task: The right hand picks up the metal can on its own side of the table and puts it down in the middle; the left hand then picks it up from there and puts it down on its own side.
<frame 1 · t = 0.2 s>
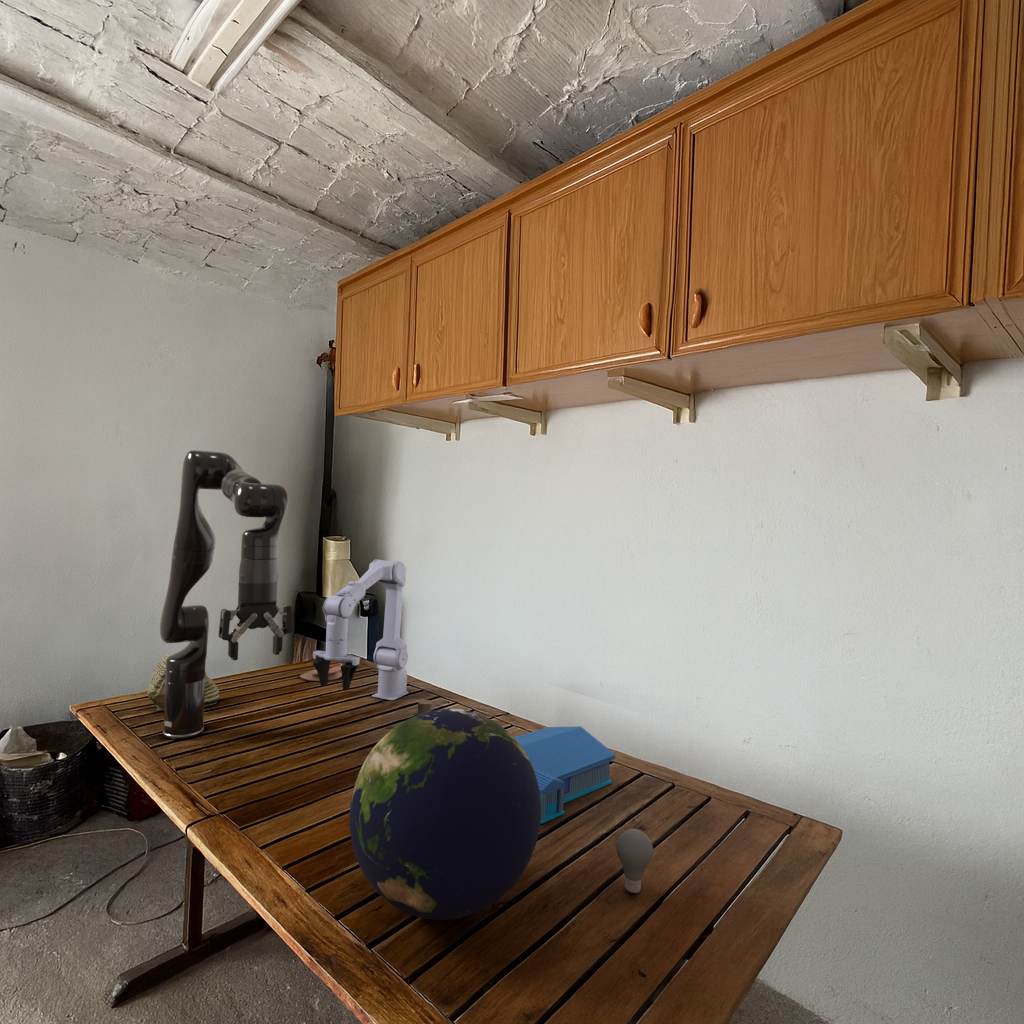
left hand: (255, 656, 132), 29 cm above the table, tool pointing down, fingers open, 8 cm apart
right hand: (334, 687, 177), 10 cm above the table, tool pointing down, fingers open, 7 cm apart
fossil: (183, 706, 185), on the table
model building: (524, 792, 140), on the table
can: (424, 715, 187), on the table
light bulb: (632, 891, 106), on the table
anatomical model: (321, 677, 220), on the table
globe: (442, 902, 101), on the table
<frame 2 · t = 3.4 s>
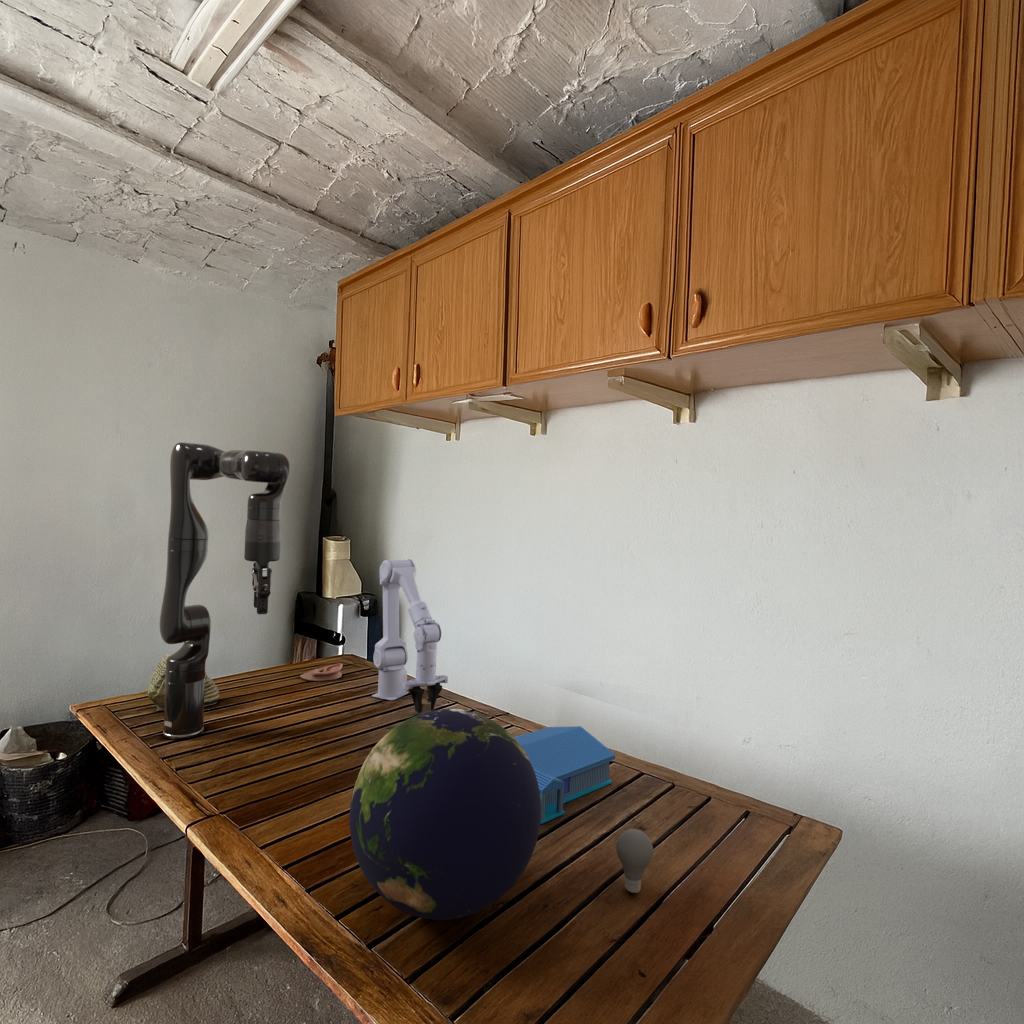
left hand: (260, 610, 144), 37 cm above the table, tool pointing down, fingers open, 8 cm apart
right hand: (424, 710, 187), 1 cm above the table, tool pointing down, fingers closed on can, 4 cm apart
can: (424, 715, 187), on the table, touching right hand
everything else where it was.
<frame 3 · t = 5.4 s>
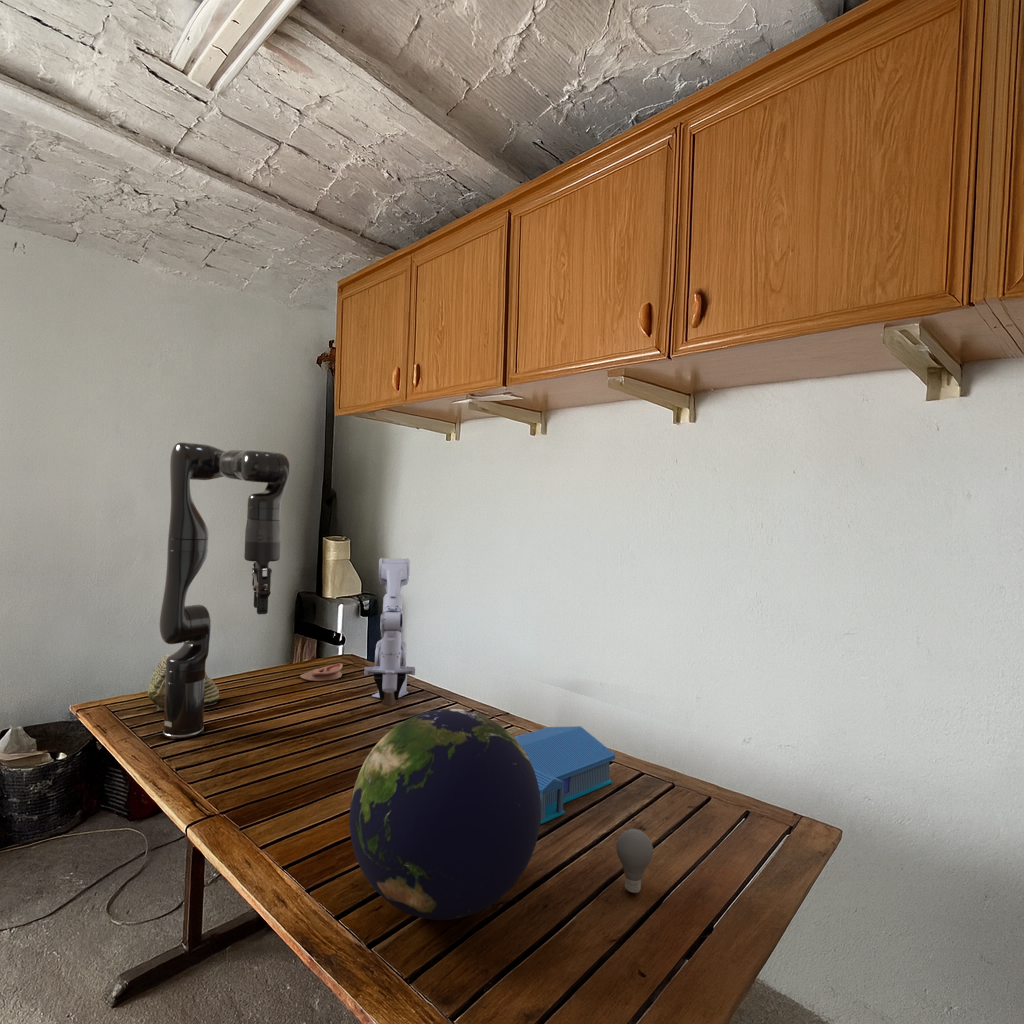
left hand: (260, 610, 144), 37 cm above the table, tool pointing down, fingers open, 8 cm apart
right hand: (388, 699, 185), 5 cm above the table, tool pointing down, fingers closed on can, 4 cm apart
can: (388, 703, 185), point 3 cm above the table, touching right hand
everything else where it was.
when the right hand's fingers open (2 cm above the table, at t = 7.6 s): can stays where it is, on the table.
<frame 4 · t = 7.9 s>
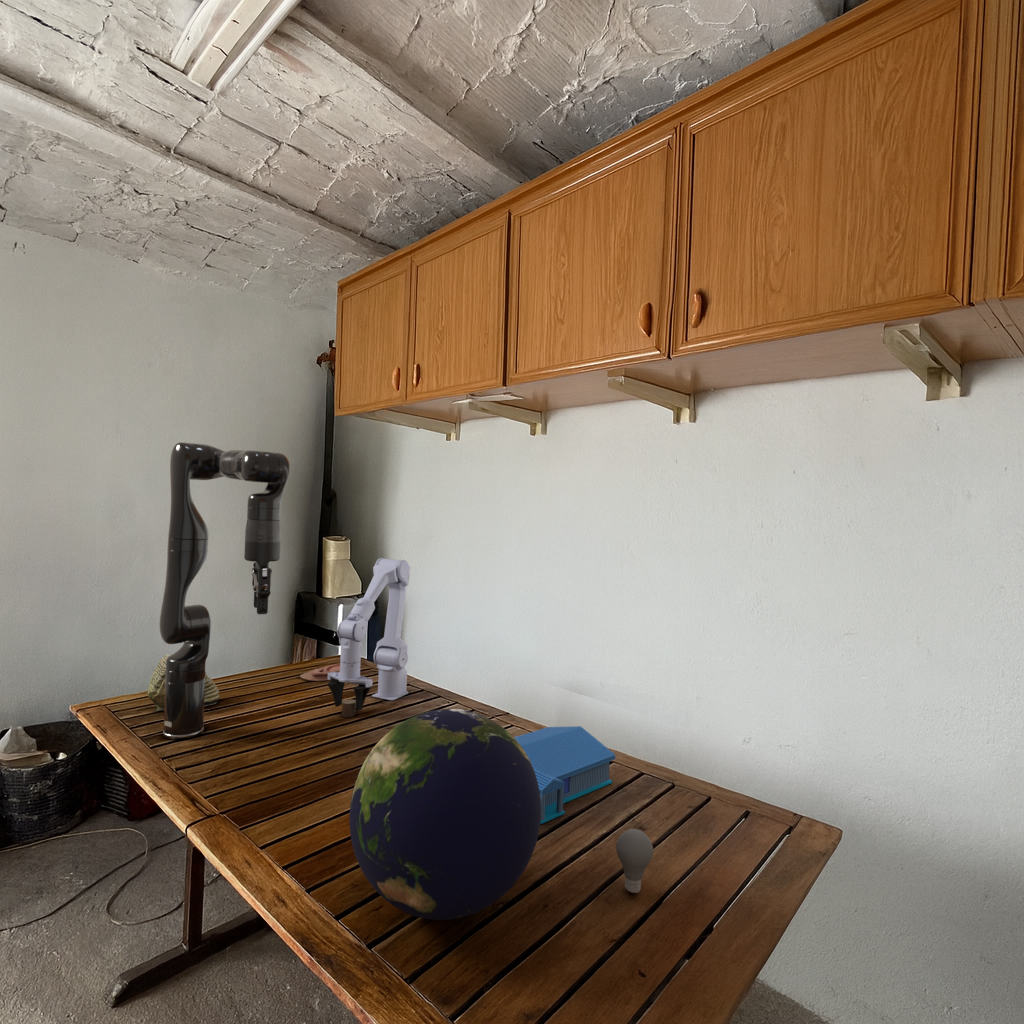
left hand: (260, 610, 144), 37 cm above the table, tool pointing down, fingers open, 8 cm apart
right hand: (348, 707, 184), 2 cm above the table, tool pointing down, fingers open, 7 cm apart
can: (348, 715, 184), on the table
everything else where it was.
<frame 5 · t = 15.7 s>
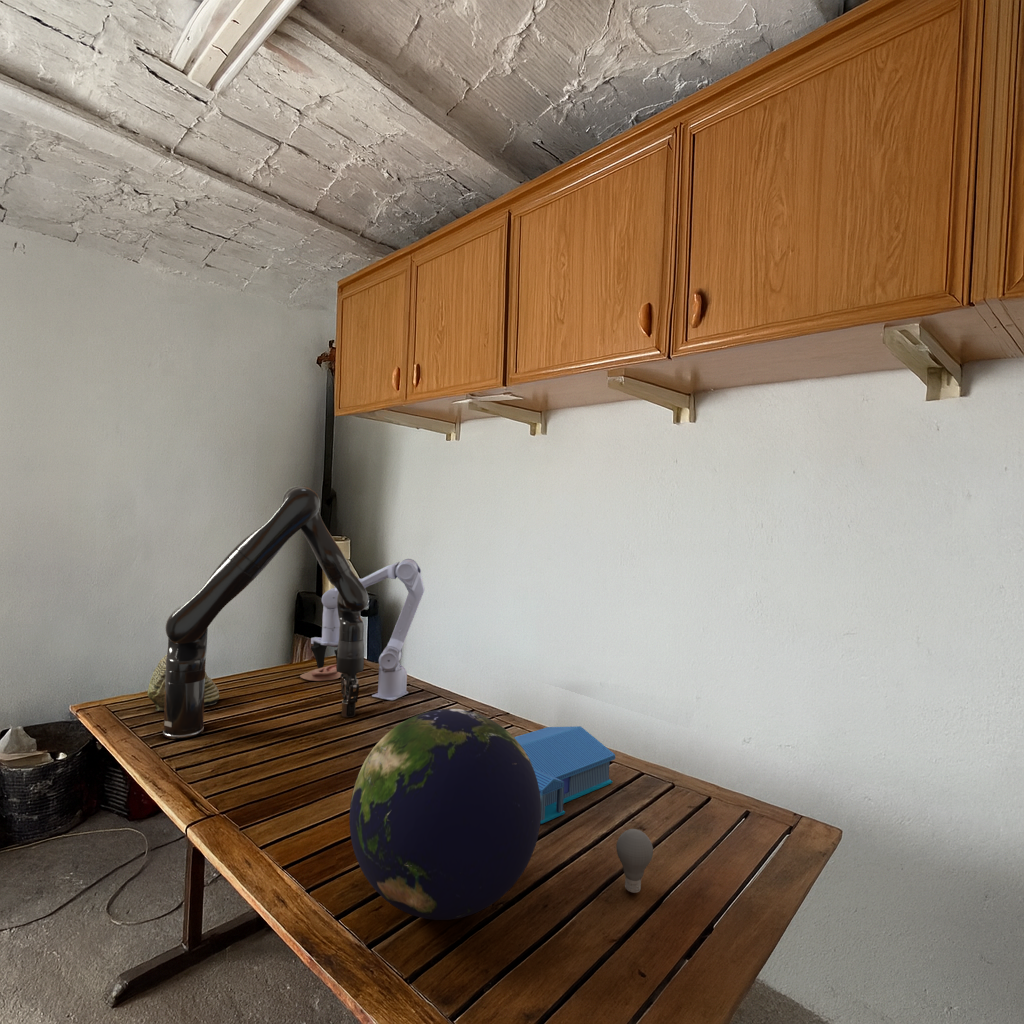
left hand: (348, 713, 184), 1 cm above the table, tool pointing down, fingers closed on can, 4 cm apart
right hand: (330, 669, 202), 8 cm above the table, tool pointing down, fingers open, 7 cm apart
can: (348, 715, 184), on the table, touching left hand
everything else where it was.
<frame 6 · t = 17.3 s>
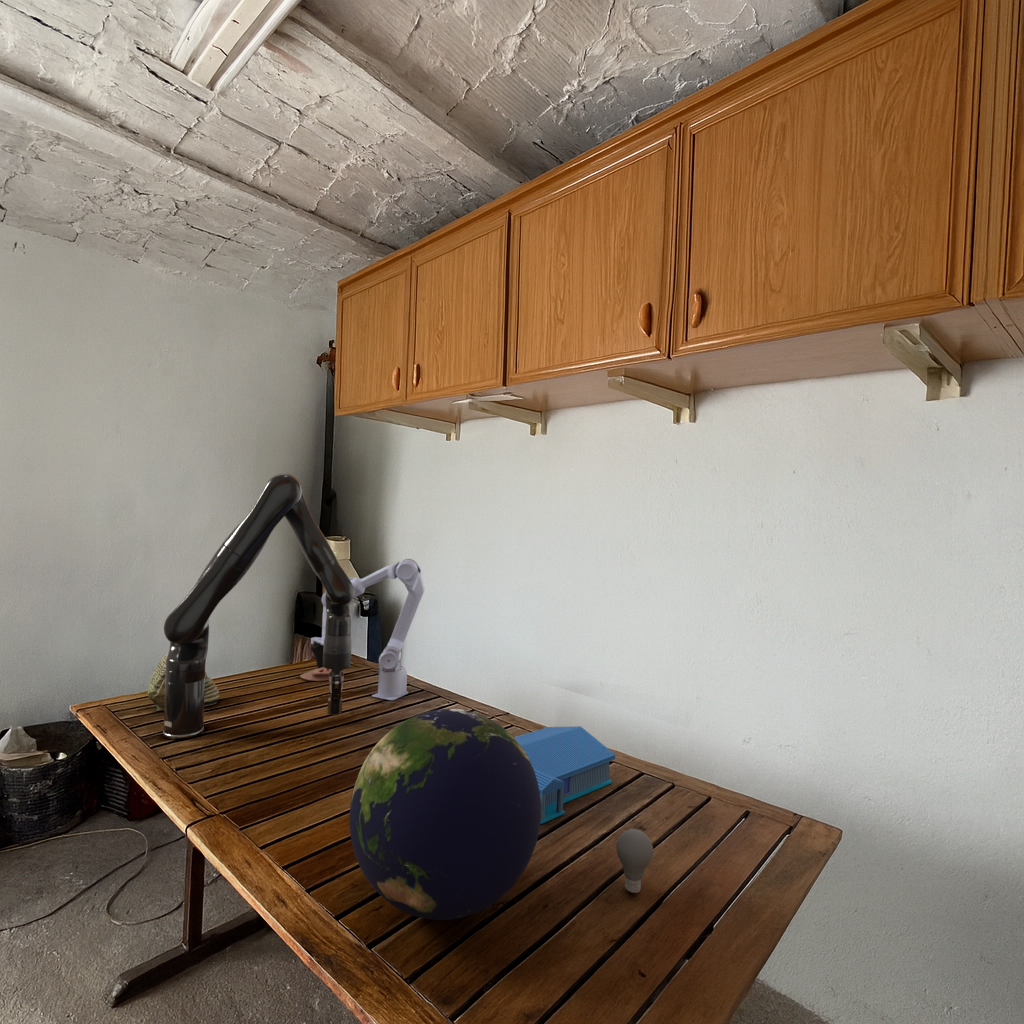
left hand: (334, 710, 176), 4 cm above the table, tool pointing down, fingers closed on can, 4 cm apart
right hand: (330, 669, 202), 8 cm above the table, tool pointing down, fingers open, 7 cm apart
can: (334, 712, 176), point 3 cm above the table, touching left hand
everything else where it was.
when the left hand's fingers open (1 cm above the table, at t = 19.1 s): can stays where it is, on the table.
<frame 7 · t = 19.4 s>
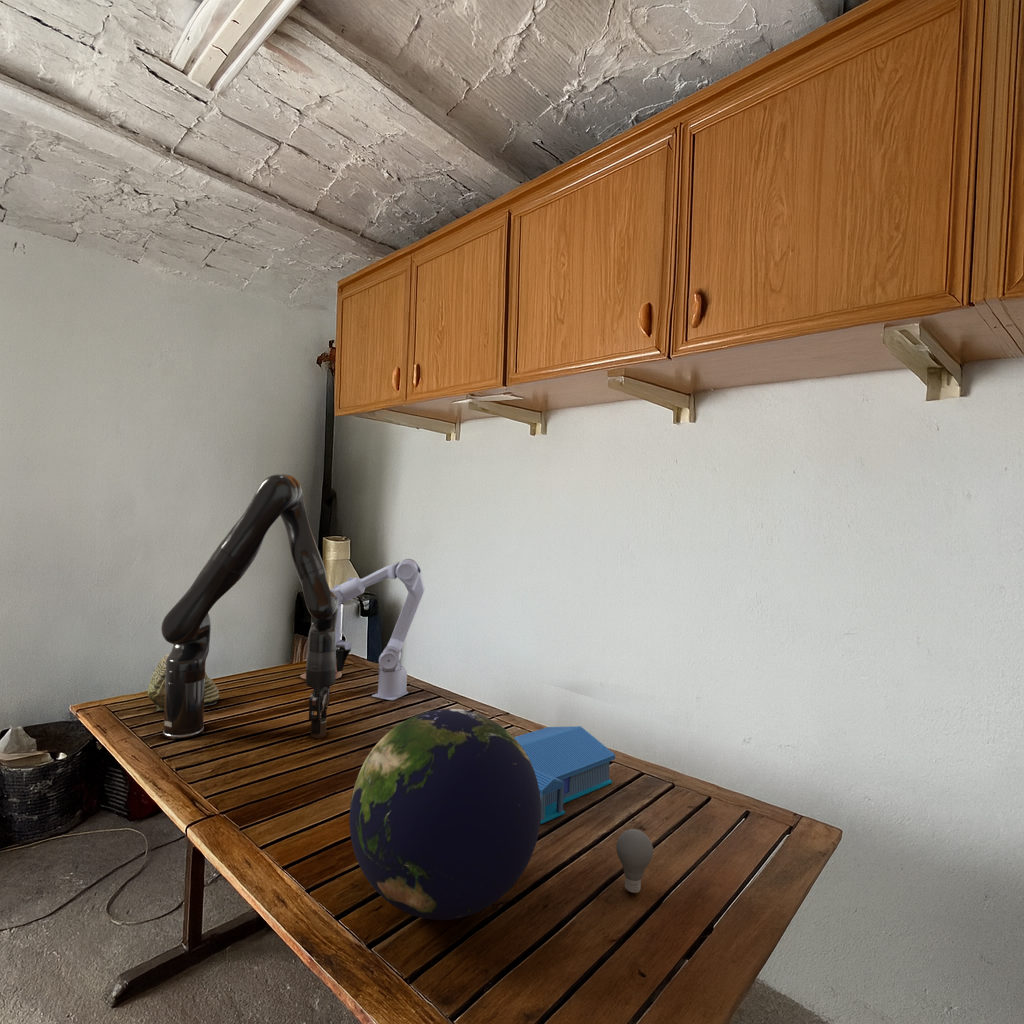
left hand: (318, 728, 168), 2 cm above the table, tool pointing down, fingers open, 6 cm apart
right hand: (330, 669, 202), 8 cm above the table, tool pointing down, fingers open, 7 cm apart
can: (318, 735, 167), on the table
everything else where it was.
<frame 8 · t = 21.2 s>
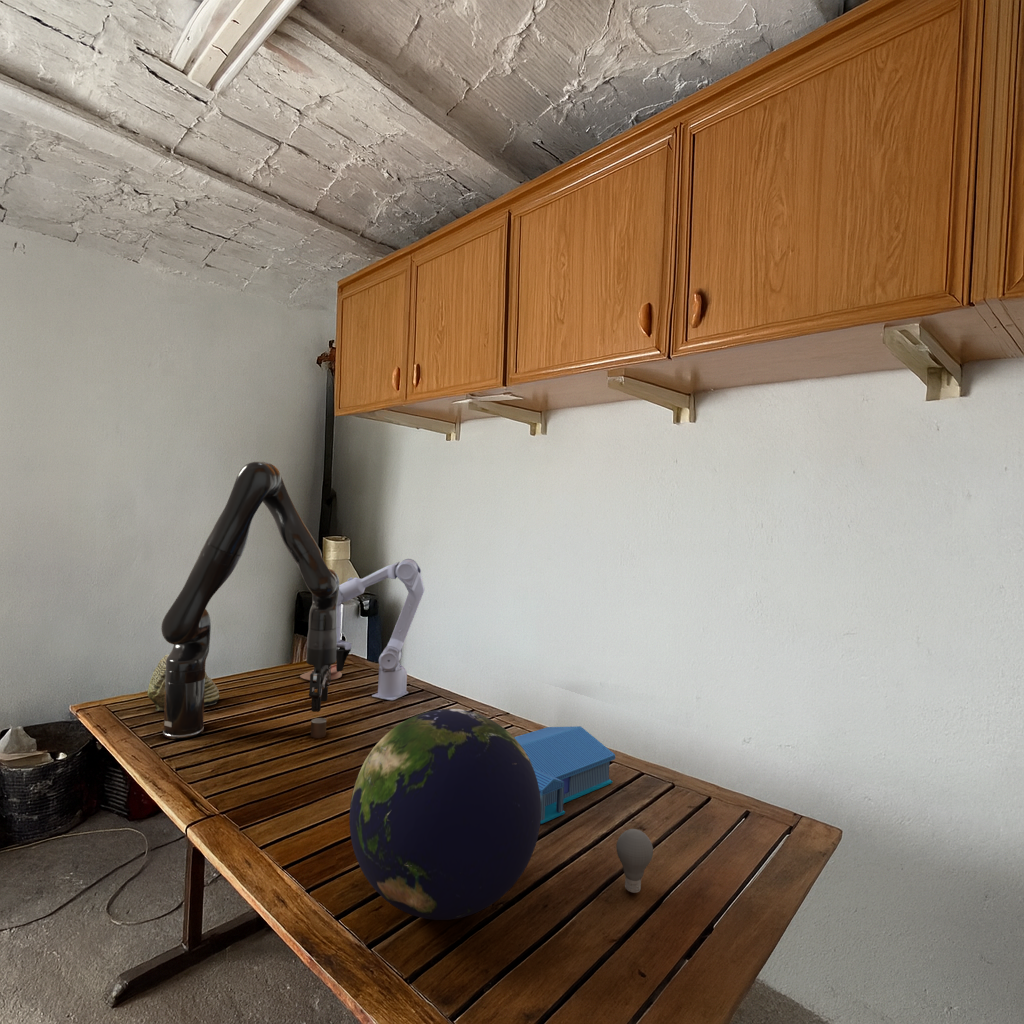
left hand: (319, 706, 167), 8 cm above the table, tool pointing down, fingers open, 8 cm apart
right hand: (330, 669, 202), 8 cm above the table, tool pointing down, fingers open, 7 cm apart
nothing on the table moved.
at the end: can inside the target area (0.1 cm from its centre), on the table; can tilted 0°; the two hands never held the can at the same time; the left hand is holding nothing; the right hand is holding nothing; can at rest at the end (0.0 cm/s) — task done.
